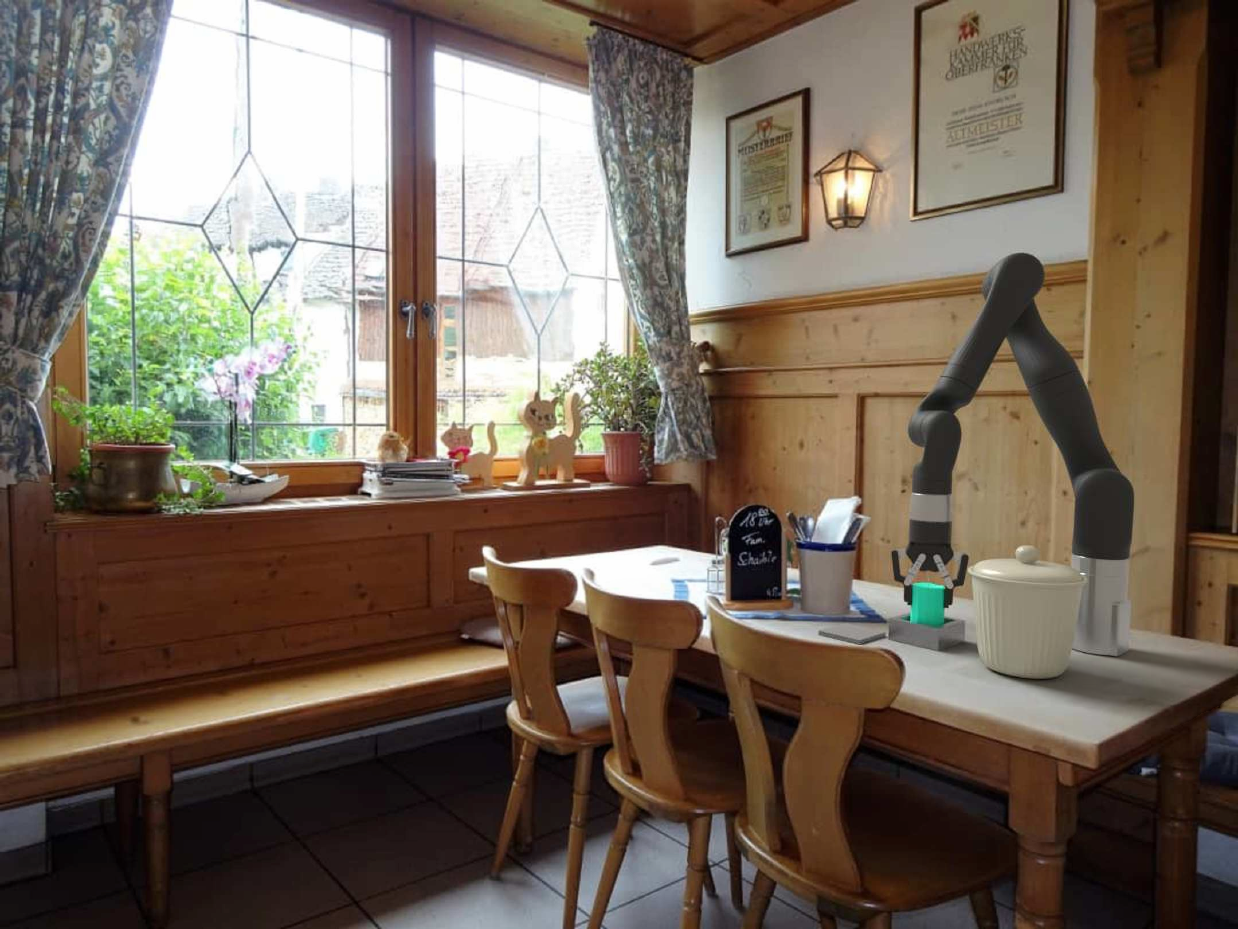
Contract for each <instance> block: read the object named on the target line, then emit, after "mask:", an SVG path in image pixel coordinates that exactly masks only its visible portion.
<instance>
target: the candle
mask: <svg viewBox="0 0 1238 929" xmlns="http://www.w3.org/2000/svg"><path fill="white" fill-rule="evenodd" d="M945 609H946V608H945V586H944V585H937V584H934V583H931V582H930V577H929V576H928V578H927V582H918V583H917V582H916V583H913V584H912V596H911V605H910V612H911V615H910V621H911V622H916V623H921V624H926V625H931V626H935V627H936V626H939V625H943V624H944V616H945Z"/></svg>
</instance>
